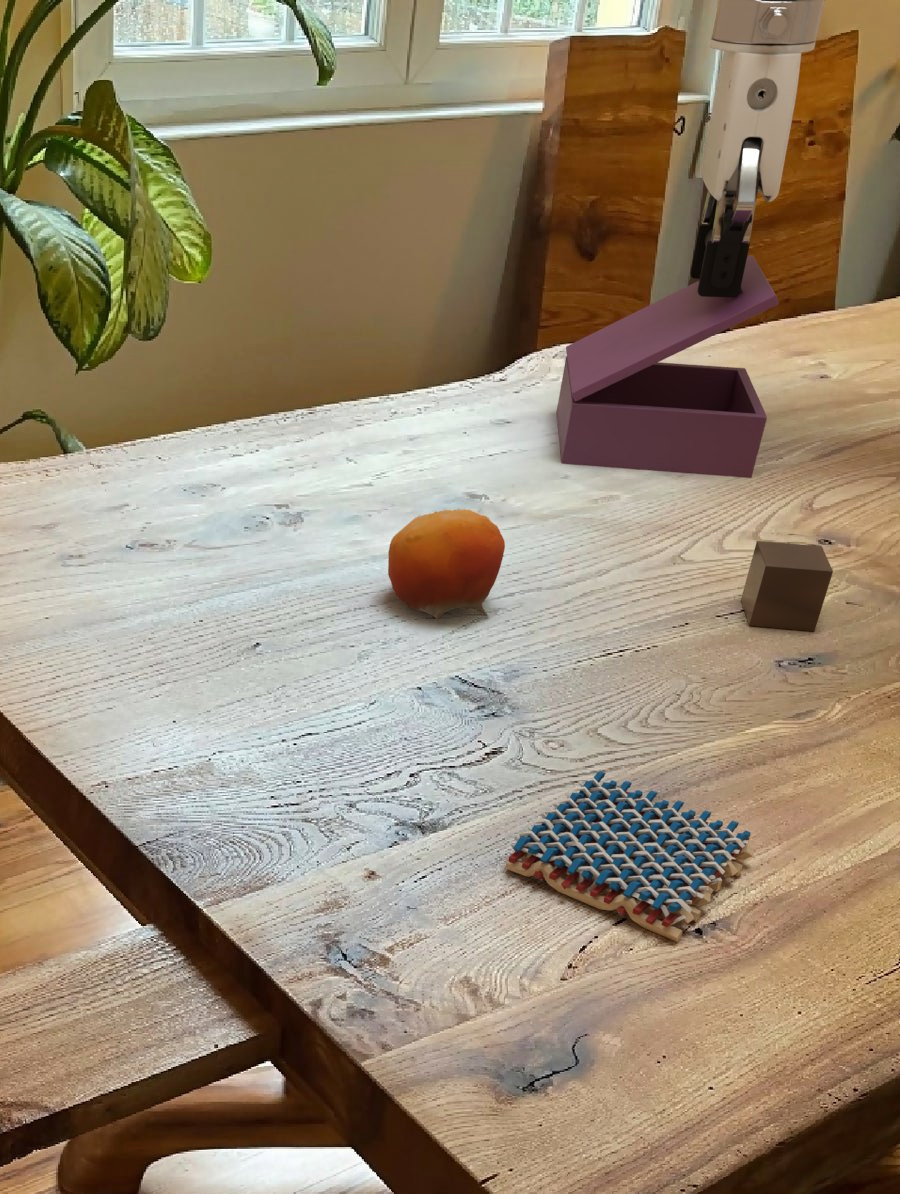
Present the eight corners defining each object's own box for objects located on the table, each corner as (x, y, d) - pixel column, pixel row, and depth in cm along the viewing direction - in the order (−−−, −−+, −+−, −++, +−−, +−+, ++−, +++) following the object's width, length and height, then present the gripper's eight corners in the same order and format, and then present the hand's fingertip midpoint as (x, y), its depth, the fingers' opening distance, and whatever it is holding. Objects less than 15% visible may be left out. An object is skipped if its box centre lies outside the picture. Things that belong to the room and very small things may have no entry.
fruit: (437, 626, 100) (418, 506, 99) (381, 640, 107) (363, 529, 106) (537, 607, 103) (519, 491, 101) (475, 622, 110) (458, 514, 109)
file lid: (755, 262, 125) (735, 201, 122) (779, 304, 114) (758, 238, 112) (568, 354, 132) (546, 299, 129) (575, 402, 121) (551, 342, 119)
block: (804, 605, 107) (822, 545, 104) (814, 631, 104) (833, 571, 101) (740, 599, 108) (756, 540, 105) (748, 626, 104) (765, 565, 102)
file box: (726, 445, 134) (745, 368, 130) (745, 499, 124) (767, 417, 119) (552, 432, 136) (566, 356, 132) (557, 484, 126) (572, 403, 121)
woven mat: (493, 872, 80) (498, 841, 78) (584, 794, 86) (591, 764, 85) (673, 949, 74) (683, 917, 73) (756, 860, 81) (766, 829, 80)
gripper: (839, 39, 102) (776, 316, 113) (800, 13, 115) (747, 263, 127) (727, 38, 103) (675, 312, 114) (701, 12, 116) (657, 261, 128)
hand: (713, 284), depth 120 cm, fingers closed on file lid, 5 cm apart
